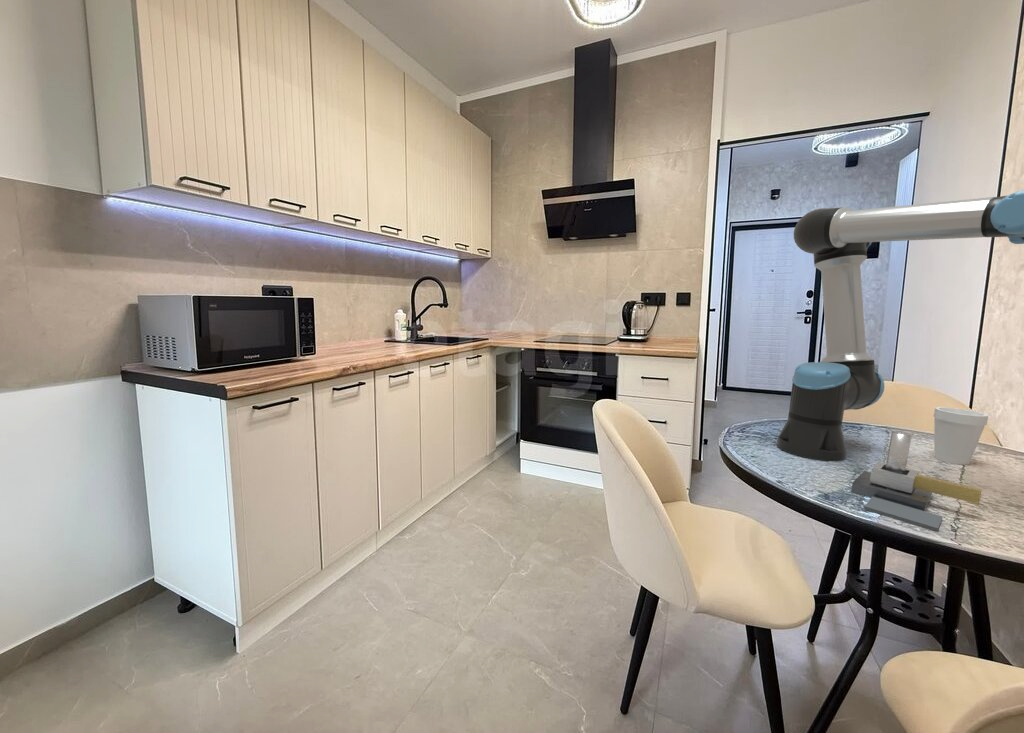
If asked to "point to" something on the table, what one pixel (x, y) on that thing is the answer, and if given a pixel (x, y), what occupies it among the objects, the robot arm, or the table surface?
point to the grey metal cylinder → (898, 452)
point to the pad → (904, 513)
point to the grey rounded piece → (957, 434)
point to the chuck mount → (891, 493)
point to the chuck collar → (922, 484)
